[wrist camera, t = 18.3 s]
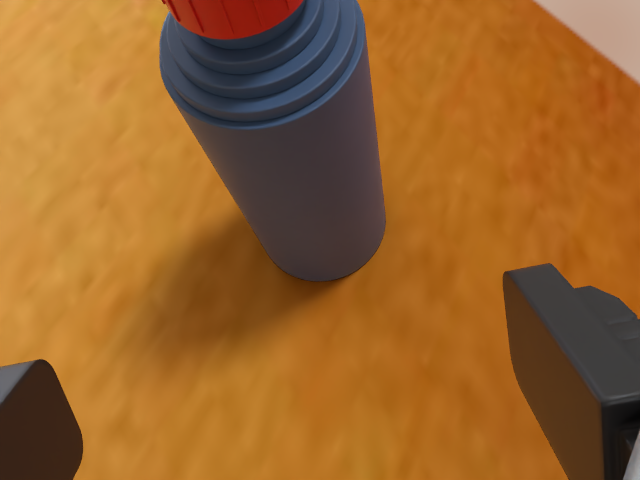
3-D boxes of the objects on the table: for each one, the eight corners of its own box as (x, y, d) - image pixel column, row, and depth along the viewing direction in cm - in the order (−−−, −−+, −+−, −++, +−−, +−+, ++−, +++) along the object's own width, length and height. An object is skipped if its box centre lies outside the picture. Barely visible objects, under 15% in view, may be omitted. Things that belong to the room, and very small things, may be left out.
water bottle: (247, 272, 29) (15, -35, 12) (275, 161, 31) (112, -229, 14) (374, 290, 28) (311, -25, 11) (394, 173, 30) (367, -240, 13)
